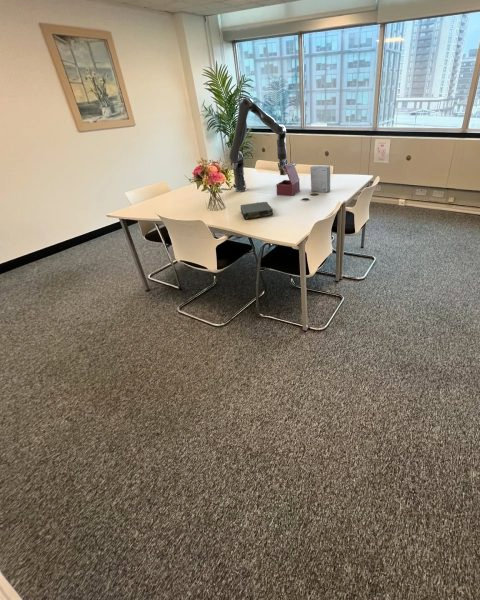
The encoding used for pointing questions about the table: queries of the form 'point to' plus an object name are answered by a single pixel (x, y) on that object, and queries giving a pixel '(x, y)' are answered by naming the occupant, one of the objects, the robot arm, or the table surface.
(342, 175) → the table surface
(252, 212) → the network switch
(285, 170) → the block
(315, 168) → the hard drive box
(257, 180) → the table surface
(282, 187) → the dark red box
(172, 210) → the table surface
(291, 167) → the purple box lid
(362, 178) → the table surface
